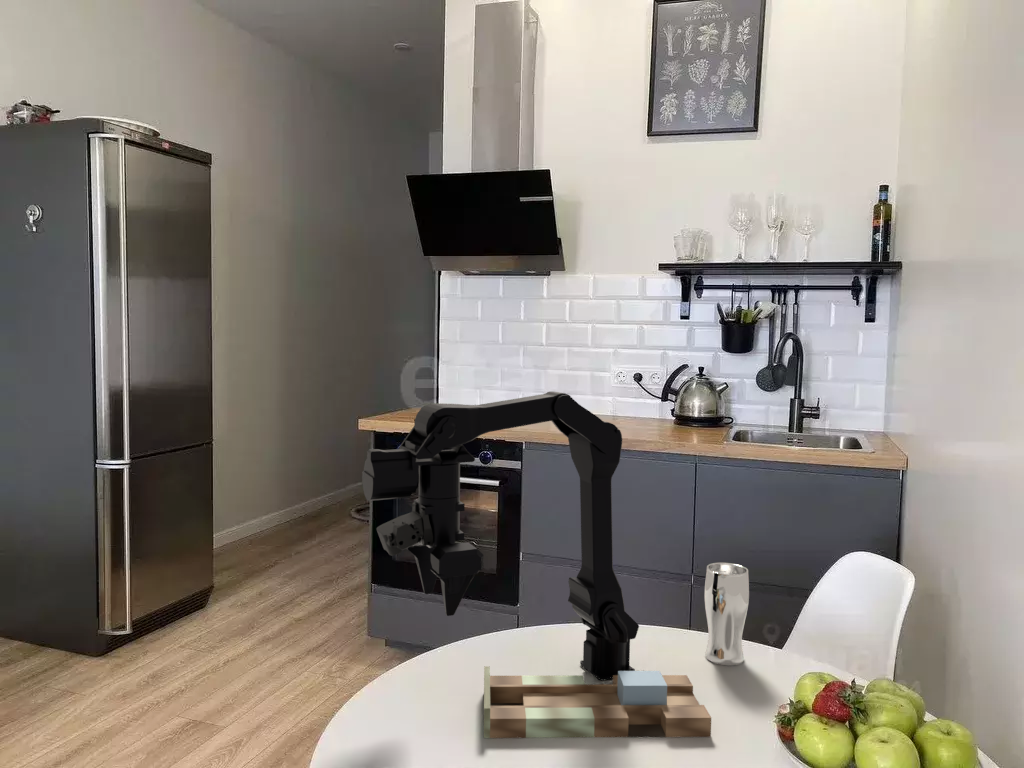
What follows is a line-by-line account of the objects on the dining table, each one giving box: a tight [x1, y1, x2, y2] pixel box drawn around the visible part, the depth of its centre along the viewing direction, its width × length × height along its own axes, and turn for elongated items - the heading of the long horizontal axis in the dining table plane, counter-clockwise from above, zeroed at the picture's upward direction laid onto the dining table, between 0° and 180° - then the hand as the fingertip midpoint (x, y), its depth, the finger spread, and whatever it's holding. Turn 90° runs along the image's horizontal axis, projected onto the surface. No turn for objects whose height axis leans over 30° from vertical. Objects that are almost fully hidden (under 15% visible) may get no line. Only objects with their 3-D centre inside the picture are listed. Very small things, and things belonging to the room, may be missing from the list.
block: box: [617, 670, 667, 705], centre depth 107 cm, size 6×4×4 cm
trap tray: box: [483, 665, 712, 739], centre depth 107 cm, size 30×12×4 cm, turn 92°
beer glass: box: [704, 562, 750, 667], centre depth 125 cm, size 7×7×15 cm
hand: (438, 604), depth 108 cm, fingers open, 9 cm apart
